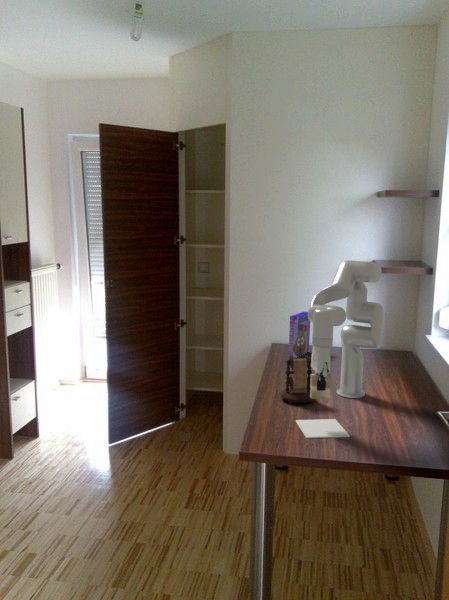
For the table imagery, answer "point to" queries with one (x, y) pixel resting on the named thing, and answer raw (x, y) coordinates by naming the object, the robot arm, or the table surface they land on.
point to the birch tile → (313, 387)
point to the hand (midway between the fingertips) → (320, 388)
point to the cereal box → (299, 334)
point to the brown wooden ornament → (298, 380)
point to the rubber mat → (321, 428)
